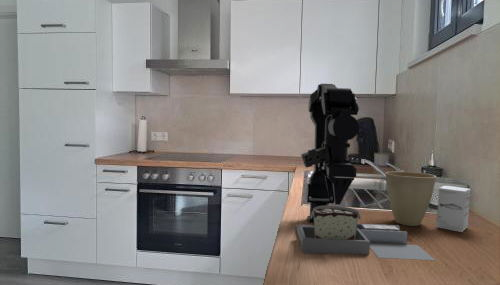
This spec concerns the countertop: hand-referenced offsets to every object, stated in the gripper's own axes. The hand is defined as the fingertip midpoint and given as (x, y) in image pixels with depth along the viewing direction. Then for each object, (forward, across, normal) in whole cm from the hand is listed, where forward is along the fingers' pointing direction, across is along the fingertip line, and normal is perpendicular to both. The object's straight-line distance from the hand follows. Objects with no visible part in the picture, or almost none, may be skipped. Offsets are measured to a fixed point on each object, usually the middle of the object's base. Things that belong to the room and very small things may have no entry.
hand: (333, 200), depth 88 cm
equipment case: (+12, -5, 0) cm, 13 cm away
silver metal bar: (+11, -6, +14) cm, 19 cm away
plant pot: (+12, -26, +29) cm, 41 cm away
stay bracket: (+12, -6, +14) cm, 19 cm away
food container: (+12, 0, 0) cm, 12 cm away
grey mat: (+12, +2, +16) cm, 20 cm away
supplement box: (+12, -22, +41) cm, 48 cm away
